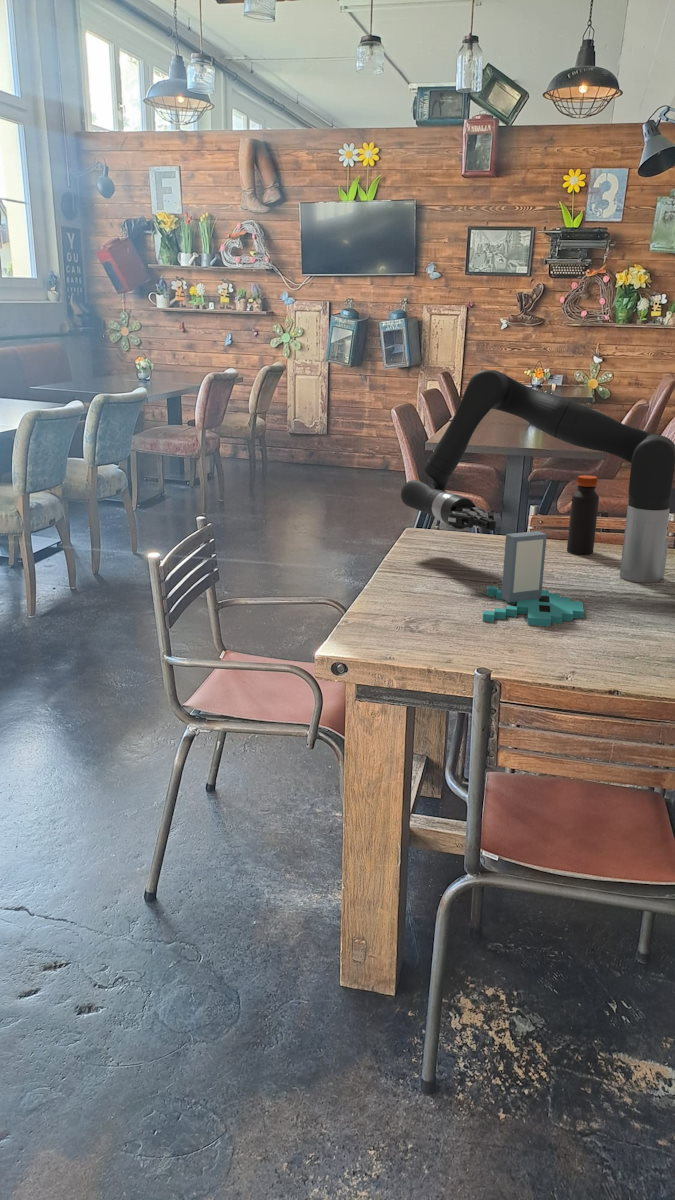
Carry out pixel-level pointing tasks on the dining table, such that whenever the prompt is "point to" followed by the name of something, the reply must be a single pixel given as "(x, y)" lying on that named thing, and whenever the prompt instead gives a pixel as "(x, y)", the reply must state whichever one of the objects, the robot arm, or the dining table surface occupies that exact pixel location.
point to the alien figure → (537, 608)
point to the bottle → (583, 516)
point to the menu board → (523, 566)
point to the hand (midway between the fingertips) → (492, 526)
